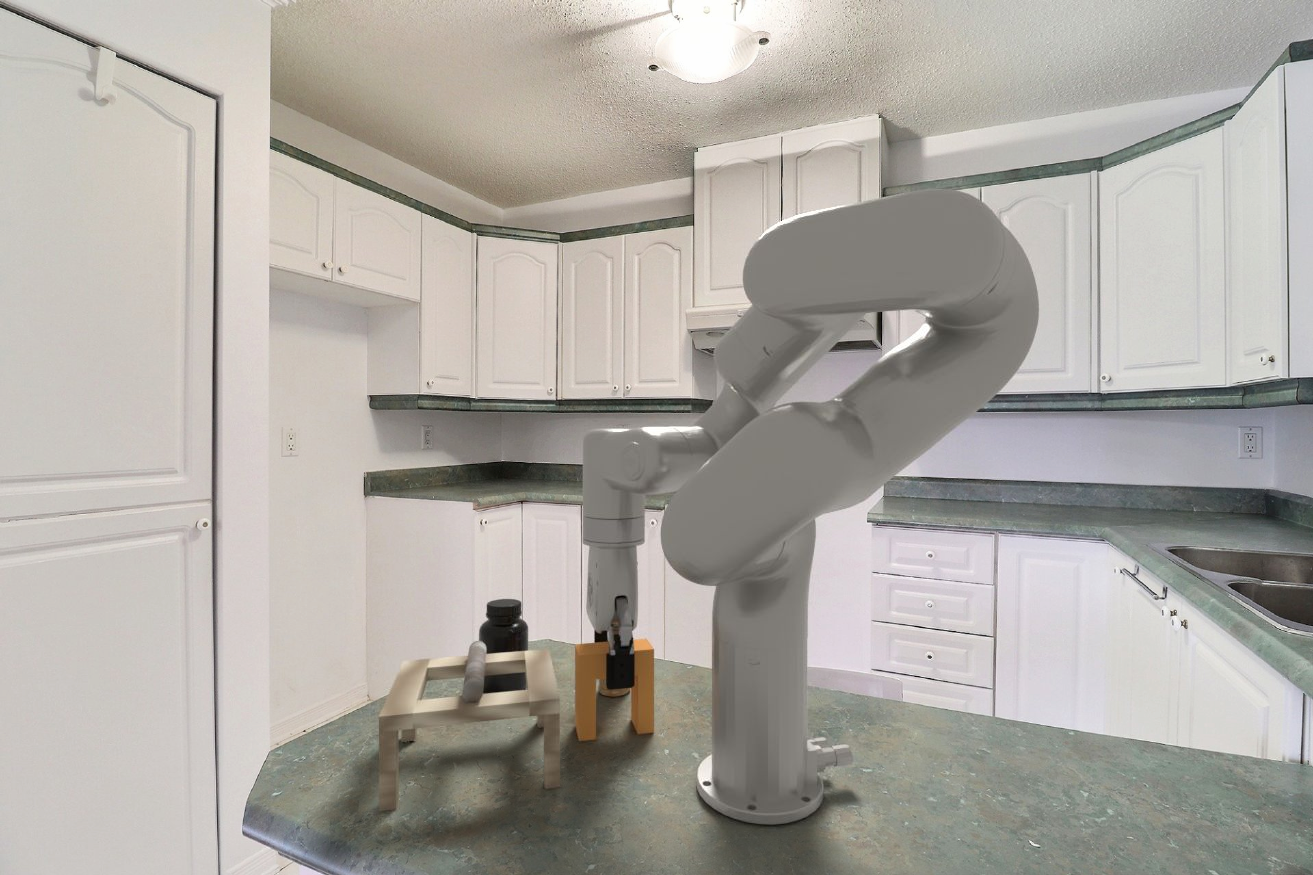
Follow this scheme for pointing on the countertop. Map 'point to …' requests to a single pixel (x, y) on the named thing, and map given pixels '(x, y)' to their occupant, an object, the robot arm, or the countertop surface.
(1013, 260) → the robot arm
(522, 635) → the supplement bottle
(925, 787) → the countertop surface
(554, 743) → the wooden frame stool
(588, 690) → the orange block
